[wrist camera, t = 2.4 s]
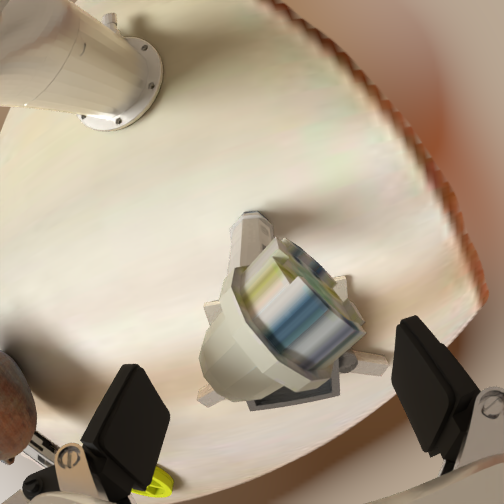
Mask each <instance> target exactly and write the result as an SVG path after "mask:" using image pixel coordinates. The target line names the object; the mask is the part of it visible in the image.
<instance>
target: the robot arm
mask: <svg viewBox="0 0 504 504" xmlns="http://www.w3.org/2000/svg"><path fill="white" fill-rule="evenodd" d="M101 20H102V23H101V22H99V21H98V20H97V19H95V18H94V17H92V16H91V15H90V14H88V13H87V12H85V11H84V10H82V9H81V8H80V7H78V6H77V5H75V4H74V3H73V2H71V1H69V0H0V106H8V107H23V108H34V109H43V110H51V111H59V112H66V113H73V114H76V115H77V117H78V118H79V120H80V121H81V122H82V123H83V124H84V125H86V126H87V127H89V128H91V129H93V130H98V131H115V130H119V129H122V128H124V127H127V126H128V125H130V124H132V123H134V122H135V121H136V120H137V119H139V118H140V117H141V116H142V115H143V114H144V113H145V112H146V111H147V110H148V109H149V107H150V106H151V105H152V103H153V102H154V100H155V98H156V96H157V94H158V92H159V90H160V86H161V83H162V78H163V64H162V61H161V57H160V55H159V54H158V52H157V50H156V49H155V48H154V47H153V46H152V45H151V44H150V43H148V42H147V41H145V40H143V39H140V38H136V37H122V36H121V34H120V31H119V30H117V17H116V14H115V13H108V14H106V15H104V16H103V17H102V19H101ZM146 49H147V50H146ZM153 86H155V87H154V88H153V89H152V87H153ZM121 121H122V123H121ZM391 380H392V385H393V387H394V389H395V391H396V393H397V395H398V397H399V400H400V401H401V404H402V406H403V408H404V410H405V412H406V414H407V416H408V419H409V421H410V423H411V425H412V427H413V430H414V432H415V434H416V436H417V438H418V441H419V443H420V445H421V448H422V450H423V451H424V452H428V453H429V455H430V457H433V456H435V455H437V454H439V453H441V456H442V458H443V459H444V462H443V465H442V467H441V469H440V472H439V474H438V477H437V478H435V479H433V480H431V481H428V482H426V483H423V484H421V485H419V486H416V487H414V488H411V489H408V490H406V491H403V492H400V493H397V494H394V495H391V496H389V497H385V498H382V499H379V500H376V501H373V502H369V503H366V504H504V389H503V388H500V387H489V388H486V389H484V390H483V391H480V390H479V388H478V387H477V386H476V384H475V383H474V382H473V380H472V379H471V378H470V376H469V375H468V374H467V372H466V371H465V370H464V368H463V367H462V366H461V365H460V363H459V362H458V361H457V360H456V358H455V357H454V356H453V355H452V353H451V352H450V351H449V350H448V349H447V347H446V346H445V345H444V344H442V343H440V342H439V341H438V340H437V338H436V337H435V336H434V335H433V334H432V332H431V331H430V330H429V329H428V328H427V326H426V325H425V324H424V323H423V322H422V321H421V320H420V318H419V317H418V316H416V315H415V316H411V317H408V318H405V319H402V320H401V322H400V324H399V325H397V327H396V339H395V351H394V360H393V369H392V376H391ZM169 421H170V413H169V411H168V409H167V408H166V406H165V405H164V403H163V401H162V400H161V398H160V396H159V395H158V393H157V391H156V390H155V388H154V386H153V385H152V383H151V381H150V379H149V378H148V376H147V374H146V372H145V371H144V369H143V368H141V367H140V366H139V365H138V364H124V365H122V367H121V368H120V370H119V372H118V373H117V375H116V377H115V378H114V380H113V382H112V384H111V385H110V387H109V389H108V391H107V392H106V394H105V396H104V398H103V399H102V401H101V403H100V405H99V407H98V408H97V410H96V412H95V414H94V416H93V418H92V419H91V421H90V423H89V425H88V427H87V429H86V431H85V432H84V434H83V436H82V438H81V440H80V441H81V442H82V443H83V446H82V447H81V446H80V445H79V444H76V443H68V444H65V445H63V446H62V447H61V448H60V449H58V451H57V452H56V454H55V458H54V463H55V464H54V465H52V466H50V467H47V468H45V469H43V470H40V471H38V472H36V473H33V474H31V475H29V476H28V477H27V478H26V479H25V481H24V482H23V487H22V488H23V491H22V490H19V491H17V492H16V493H15V494H14V495H12V496H11V497H10V498H8V499H7V500H6V501H4V502H3V503H2V504H137V503H136V502H135V500H134V498H133V496H132V494H131V490H132V488H133V489H134V490H139V491H144V492H146V489H147V486H149V485H150V484H151V482H152V478H153V475H154V471H155V468H156V464H157V461H158V458H159V454H160V451H161V448H162V444H163V441H164V438H165V434H166V431H167V428H168V424H169Z"/></svg>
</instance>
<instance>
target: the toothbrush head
mask: <svg viewBox="0 0 504 504" xmlns="http://www.w3.org/2000/svg"><path fill="white" fill-rule="evenodd" d="M230 237H231V250H230V257H229V265H228V273H227V277H226V278H225V279H224V282H223V286H222V290H221V294H220V298H219V301H220V304H221V307H222V312H221V313H220V314H219V316H218V317H217V318H216V319H215V321H214V322H213V323H212V324H211V326H210V327H209V328H208V330H207V331H206V334H205V337H204V341H203V344H202V348H201V351H200V355H199V361H200V365H201V369H202V372H203V376H204V378H205V379H206V380H207V382H208V383H209V384H210V385H211V387H212V388H213V389H214V391H215V392H216V393H217V394H219V395H221V396H223V397H224V398H226V399H228V400H230V401H232V402H239V401H249V400H258V399H262V398H264V397H265V396H267V395H269V394H271V393H273V392H274V391H276V390H278V389H279V388H281V387H283V386H285V387H287V388H289V389H291V390H293V391H294V392H300V391H306V390H311V389H316V388H318V387H319V386H321V385H322V384H323V383H325V382H326V381H327V380H329V379H330V378H331V374H332V369H333V364H334V361H335V360H337V359H338V358H339V357H340V356H341V355H342V354H344V353H345V352H346V351H347V350H348V349H349V348H351V347H352V346H353V345H354V344H355V343H356V342H357V341H359V340H360V339H361V338H362V337H363V336H364V335H365V334H366V332H365V330H364V329H363V328H362V327H361V326H362V325H363V324H364V323H365V321H364V319H363V318H362V316H361V314H360V313H359V311H358V309H357V308H356V306H355V304H354V303H353V302H351V301H350V300H349V299H348V298H347V299H346V300H345V301H344V302H343V301H342V300H341V299H340V297H339V296H338V295H337V293H336V292H335V291H334V289H333V288H334V287H335V286H336V285H337V284H338V283H337V282H336V281H335V280H334V279H333V278H332V277H331V276H330V275H329V274H328V273H327V272H326V271H325V269H324V268H323V267H322V266H321V265H320V264H319V263H318V262H316V261H315V260H314V259H313V258H312V257H311V256H310V255H308V254H307V253H306V252H305V251H304V250H303V249H301V248H300V247H299V246H297V245H296V244H294V243H293V242H291V241H290V240H288V239H286V238H284V239H283V240H282V241H281V240H279V239H278V238H277V237H275V238H273V225H272V224H270V223H269V222H268V219H266V218H265V217H264V216H263V215H262V214H261V213H259V212H258V211H254V212H244V213H243V214H242V215H241V216H240V217H239V219H238V220H237V221H236V222H235V223H234V224H233V226H232V227H231V228H230Z"/></svg>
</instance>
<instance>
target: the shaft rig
mask: <svg viewBox="0 0 504 504" xmlns="http://www.w3.org/2000/svg"><path fill="white" fill-rule="evenodd" d="M333 279H334V280H335V281H336V282H337V283H338V284H337V285H336V286H335V287H334V288H333V289H334V291H335V292H336V293H337V295H338V296H339V297H340V299H341V300H342V301H343V302H344V301H345V300H346V299H347V298H348V293H347V280H346V277H345V276H339V277H335V278H333ZM203 307H204V310H205V313H206V316H207V319H208V322H209V325H210V326H211V324H212V323H213V322H214V321H215V319H216V318H217V317H218V316H219V314H220V313H221V312H222V307H221V304H220V301H219V300H218V301H212V302H206V303H204V306H203ZM388 366H389V364H388V362H387V360H386V358H385V356H383V355H377V354H372V353H366V352H360V351H355V350H353V349H352V347H351V348H349V349H348V350H347V351H346V352H345V353H344V354H342V355H341V356H340V357H339V358H338V359H337V360H335V361H334V364H333V369H332V374H331V378H330V379H329V380H327V381H326V382H325V383H323V384H322V385H321V386H319V387H318V388H316V389H311V390H306V391H300V392H294V391H293V390H291V389H289V388H287V387H285V386H283V387H281V388H279V389H278V390H276V391H274V392H273V393H271V394H269V395H267V396H265V397H264V398H262V399H258V400H249V401H246V402H247V404H248V407H249V409H250V411H256V410H264V409H272V408H279V407H285V406H291V405H297V404H302V403H307V402H312V401H317V400H322V399H326V398H331V397H335V396H339V395H340V383H339V374H340V373H348V372H352V373H359V374H366V375H374V376H382V375H383V373H384V372H385V371H386V369H387V368H388ZM223 399H225V398H224V397H223V396H221V395H219V394H217V393H216V392H215V391H214V389H213V388H212V387H211V385H210V384H208V385H206V386H204V387H203V388H201V389H199V392H198V397H197V401H199V402H200V403H202V404H203V405H205V406H206V407H210V406H212V405H214V404H216V403H218V402H220V401H222V400H223Z"/></svg>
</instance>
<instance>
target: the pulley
mask: <svg viewBox="0 0 504 504" xmlns="http://www.w3.org/2000/svg"><path fill="white" fill-rule="evenodd" d="M173 484H174V481H173V479H172V477H171V476H170V475H169V474H168V473H166V472H165V471H164V470H162V469H161V468H159V467H157V466H156V468H155V471H154V475H153V478H152V482H151V484H150V485H149V486H147V489H146V492H144V491H139V490H134V489H133V488H132V490H131V492H132V493H136V494H139V495H144V496H149V497H168V496H170V495H171V493H172V487H173Z"/></svg>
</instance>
